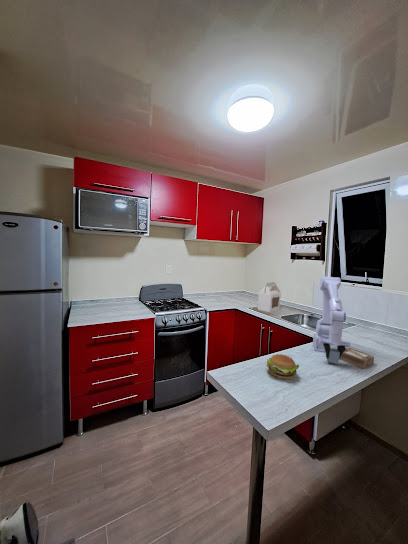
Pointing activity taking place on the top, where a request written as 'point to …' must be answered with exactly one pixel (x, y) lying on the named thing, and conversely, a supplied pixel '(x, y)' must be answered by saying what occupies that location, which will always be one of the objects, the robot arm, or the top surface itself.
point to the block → (333, 356)
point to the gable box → (269, 298)
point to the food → (282, 366)
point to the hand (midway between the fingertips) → (332, 358)
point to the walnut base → (357, 358)
